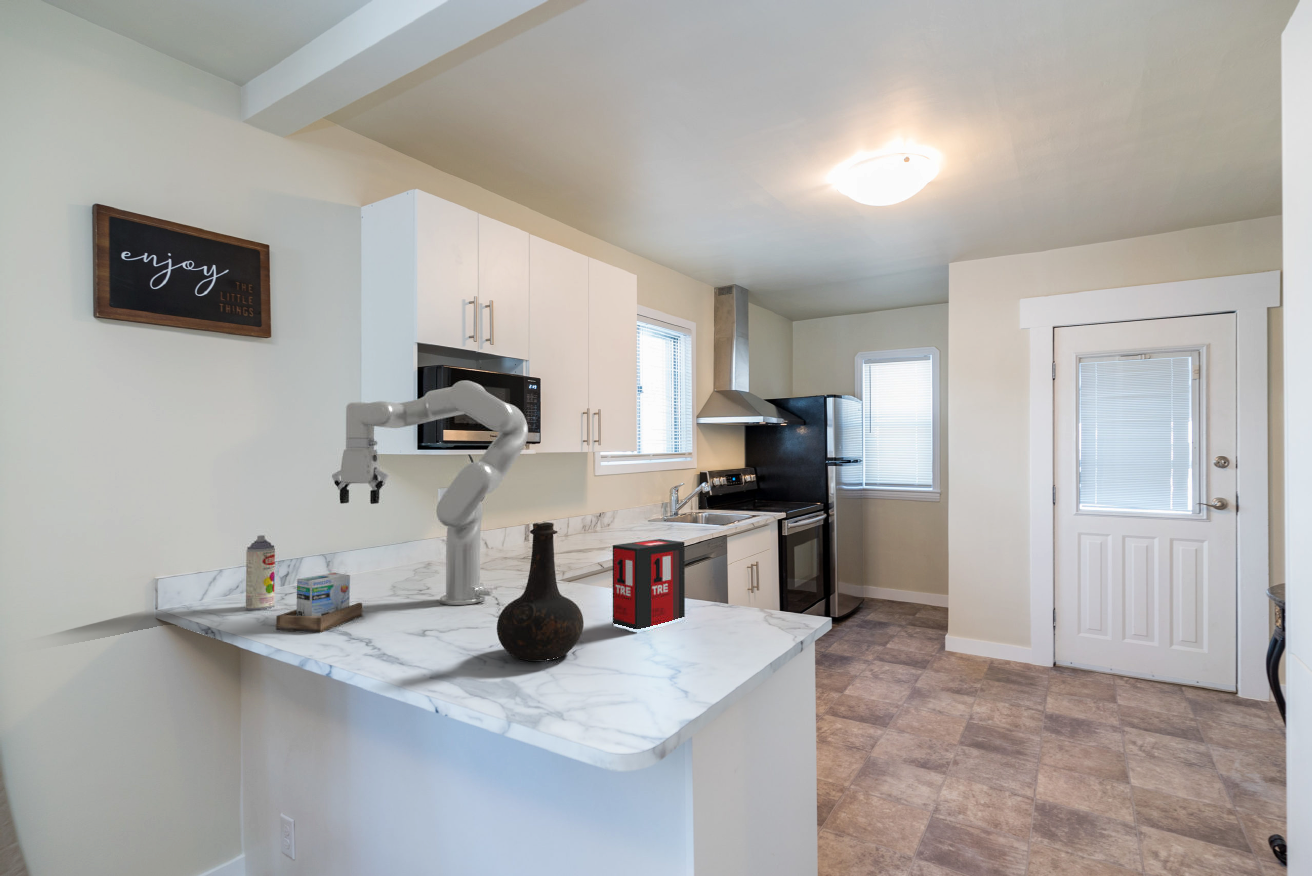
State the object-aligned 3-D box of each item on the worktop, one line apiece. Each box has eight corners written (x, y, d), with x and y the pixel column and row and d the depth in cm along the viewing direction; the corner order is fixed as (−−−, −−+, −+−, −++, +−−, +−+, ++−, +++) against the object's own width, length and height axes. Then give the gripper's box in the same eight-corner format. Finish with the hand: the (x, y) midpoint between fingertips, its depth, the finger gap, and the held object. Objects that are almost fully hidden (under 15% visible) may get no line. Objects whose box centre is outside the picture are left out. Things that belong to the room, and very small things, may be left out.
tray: (362, 616, 170) (362, 602, 170) (320, 632, 155) (320, 617, 155) (321, 614, 172) (321, 601, 172) (276, 630, 157) (276, 615, 157)
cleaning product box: (637, 633, 153) (637, 548, 154) (612, 626, 160) (612, 545, 160) (684, 620, 165) (684, 542, 165) (660, 614, 171) (659, 538, 172)
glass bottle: (479, 663, 132) (480, 525, 132) (527, 639, 148) (527, 517, 149) (556, 673, 125) (556, 528, 126) (597, 647, 142) (597, 520, 143)
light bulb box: (311, 625, 158) (311, 581, 158) (294, 622, 161) (295, 578, 162) (350, 615, 167) (351, 574, 167) (334, 612, 171) (335, 571, 171)
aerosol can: (265, 610, 177) (266, 537, 177) (240, 610, 176) (241, 537, 177) (279, 604, 184) (280, 534, 184) (254, 604, 183) (255, 534, 184)
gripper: (394, 444, 191) (393, 502, 191) (341, 445, 194) (341, 502, 194) (379, 444, 184) (378, 504, 184) (324, 444, 187) (324, 504, 187)
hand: (359, 503), depth 189 cm, fingers open, 9 cm apart
